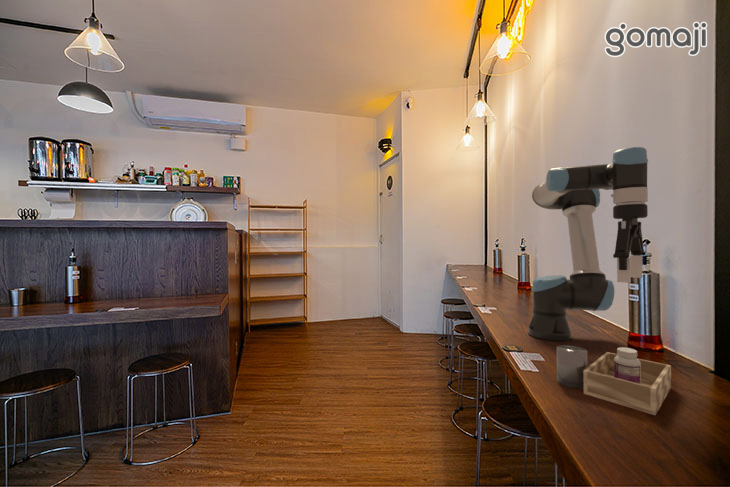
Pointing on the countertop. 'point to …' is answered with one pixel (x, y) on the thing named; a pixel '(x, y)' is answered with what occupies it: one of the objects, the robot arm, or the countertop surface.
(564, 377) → the tin can
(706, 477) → the countertop surface
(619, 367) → the pill bottle
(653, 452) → the countertop surface
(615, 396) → the caddy
